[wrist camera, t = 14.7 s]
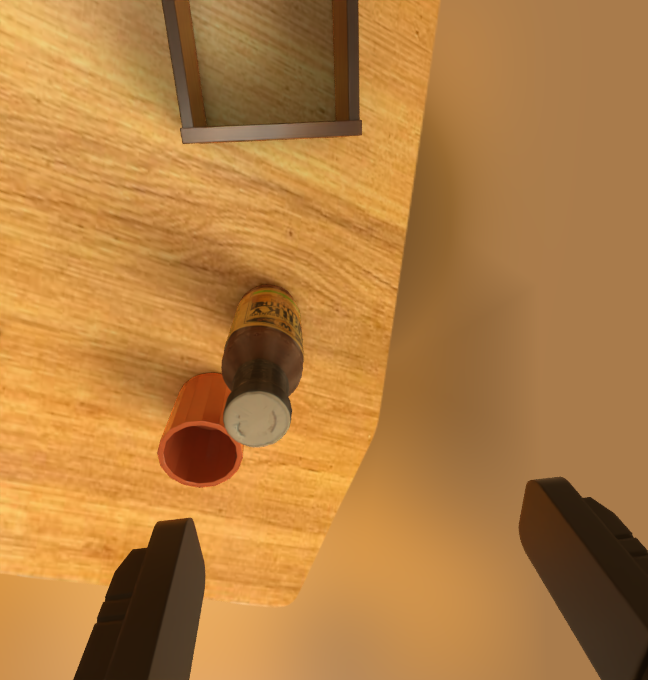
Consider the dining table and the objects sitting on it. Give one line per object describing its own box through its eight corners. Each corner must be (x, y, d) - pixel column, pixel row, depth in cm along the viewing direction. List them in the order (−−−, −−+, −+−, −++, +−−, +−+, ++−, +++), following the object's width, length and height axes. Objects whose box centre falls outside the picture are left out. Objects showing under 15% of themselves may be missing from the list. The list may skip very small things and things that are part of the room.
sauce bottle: (310, 304, 44) (337, 412, 26) (275, 349, 45) (277, 482, 27) (258, 267, 42) (246, 357, 23) (222, 316, 43) (186, 437, 25)
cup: (242, 369, 46) (236, 417, 38) (250, 426, 49) (246, 482, 41) (172, 375, 45) (150, 425, 37) (184, 433, 48) (166, 491, 40)
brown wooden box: (342, -49, 33) (360, -100, 26) (346, 137, 38) (362, 135, 31) (170, -46, 31) (142, -99, 25) (198, 145, 37) (182, 143, 30)
